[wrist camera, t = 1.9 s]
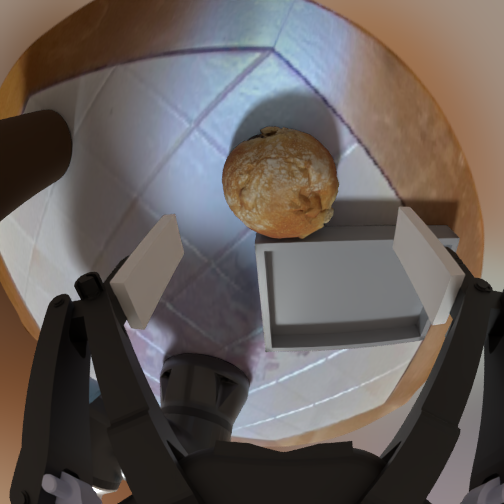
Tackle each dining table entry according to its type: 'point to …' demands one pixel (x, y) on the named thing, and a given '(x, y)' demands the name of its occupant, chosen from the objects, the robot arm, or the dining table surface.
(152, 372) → the dining table surface
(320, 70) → the dining table surface
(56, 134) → the olive oil
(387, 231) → the tray
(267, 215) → the bread roll
